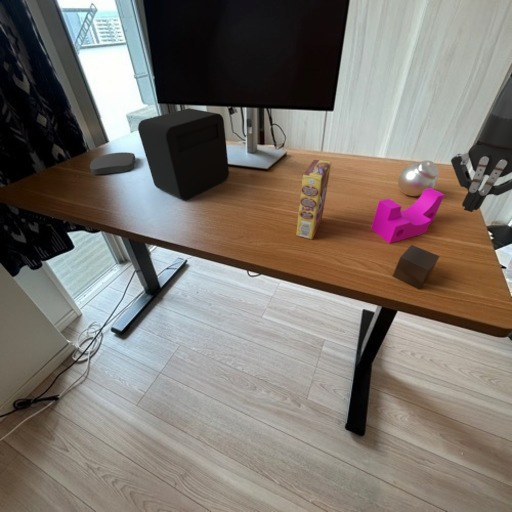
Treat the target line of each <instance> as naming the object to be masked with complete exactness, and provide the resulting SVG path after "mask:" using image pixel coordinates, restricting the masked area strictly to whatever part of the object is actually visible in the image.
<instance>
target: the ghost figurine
mask: <svg viewBox="0 0 512 512" xmlns="http://www.w3.org/2000/svg"><path fill="white" fill-rule="evenodd" d="M439 173H440V172H439V169H438V166H437V165H436V163H434V161H433V160H427V159H426V160H422V161H419V162H415V163H412V164H409V165H407V166H406V167H404V168H403V169H402V171H400V173H399V175H398V178H397V184H398V185H397V186H398V188H399V190H400V192H402V193H403V194H405V195H406V196H410V197H420V196H421V195H422V193H423V191H424V190H425V189H429V188H432V189H435V187H436V186H437V185H436V184H437V182H438V176H439Z"/></svg>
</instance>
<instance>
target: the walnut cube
mask: <svg viewBox="0 0 512 512" xmlns="http://www.w3.org/2000/svg"><path fill="white" fill-rule="evenodd" d="M439 258H440V255H438V254H436V253H433V252H430V251H428V250H426V249H423V248H421V247H418V246H416V245H414V244H411V245H409V247H408V248H407V249H406V250H405V252H403V253H402V254H401V255H400V256H399V260H398V262H397V264H396V267H395V269H394V271H393V274H392V278H395V279H397V280H399V281H401V282H403V283H405V284H407V285H410V286H412V287H413V288H415V289H417V290H420V289H421V288H422V286H423V285H424V284H425V282H426V281H427V279H428V278H429V277H430V275H431V273H432V271H433V270H434V268H435V266H436V264H437V262H438V260H439Z"/></svg>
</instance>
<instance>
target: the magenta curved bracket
mask: <svg viewBox="0 0 512 512" xmlns="http://www.w3.org/2000/svg"><path fill="white" fill-rule="evenodd" d="M444 197H445V193H442V192H441V191H438V190H437V189H435V188H433V189H432V188H429V189H425V190H424V191H423V193H422V195H420V196H419V197H418V198H417V200H416V201H415V202H414V203H413V204H412V205H411V206H409V207H408V208H406V209H403V210H402V205H400V204H399V203H397V202H395V201H394V200H393V199H391V198H384V199H381V200H379V201H378V204H377V207H376V210H375V213H374V217H373V221H372V224H371V227H370V230H372V231H373V232H374V233H375V234H376V235H378V236H379V237H380V238H382V239H383V240H384V241H385V242H387V243H388V244H393V243H397V242H399V241H403V240H405V239H410V238H412V237H416V236H419V235H422V234H426V232H427V231H428V228H429V226H430V224H431V223H433V221H434V219H435V218H436V215H437V213H438V210H439V208H440V206H441V204H442V202H443V200H444Z"/></svg>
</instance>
